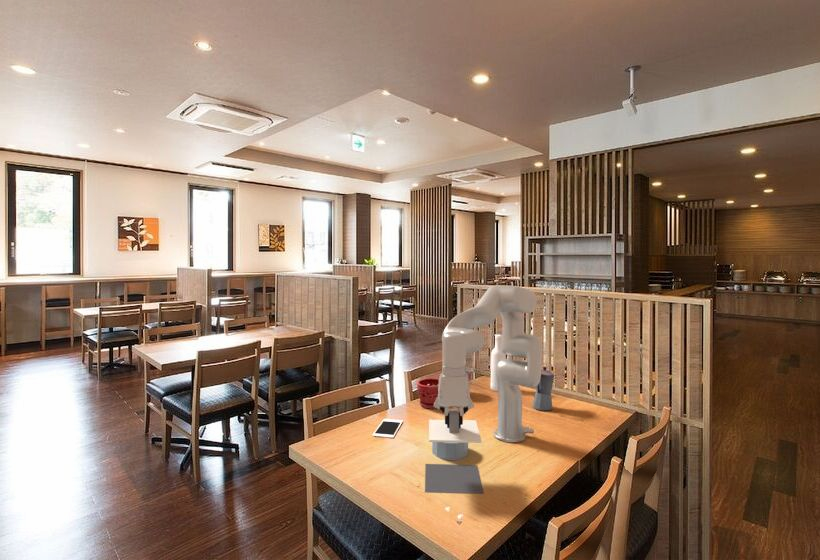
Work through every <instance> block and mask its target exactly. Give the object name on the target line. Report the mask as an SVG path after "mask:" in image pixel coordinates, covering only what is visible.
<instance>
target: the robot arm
mask: <svg viewBox="0 0 820 560" xmlns="http://www.w3.org/2000/svg"><path fill="white" fill-rule="evenodd" d="M537 305H538V299H537V296H536V294H535V293H534V292H533V291H532V290H529V289H526V288H523V287H521V286H517V285H503V284H495V285H492V286H490V287H488V288H487V290H486V291H485V293H483V295H482V296H481V298H480V299H479V300H478V302H477V303H476V305H475V306H474V307H470V308H469V309H467V310H465V311H463V312H460V313H458V314H456V315H455V316H454V317H453V318H452V319H450V321H449V322H448V323H447V325H446V326H445V328H444V329H443V331H442V334H441V341H442V342H441V343H442V345H441V347H442V352H441V353H442V355H441V357H442V362H441V364H442V366H441V368H442V370H441V371H442V372H441V373H440V374H439V378H438V379H439V384H437V385H438V397H437V399H436V401H435V403H434V407H435V408H434V409H437V410H439V411H440V412H441V413H442V414H444V420H445V424H447V428H449V409H450V407H451V408H452V407H453V408H454V407H457V408H459V409H458V412H459V428H461V425H463V420H464V415H465V414H466V413H467V412H468V411H469V410H471V409H474V408H475V403H474V402H473V400H472V398H471V397H470V395H471V391H470V379H468V374H466V373H467V372H470V371H471V367H470V366H469V367H468V366H467V365H466V364H467V361H466V360H467V354H468V353H469V354H473V353H477V352H480V350H481V349H482V348H483V347H484V345H485V337H484V335H483V333H482V332H481V331H479V330H478V329H476V328H481V327H485V326H489V325H492V324H493V323H494V322H495V321H496V319H497V317H498V316H499V315H500V316H501V320H502V329H501V331H502V332H501V335H502V351H503V353H504V354H506V355H507V356H509V357H514V358H522V359H526V361H524V360H518V359H512V358H505V359H503V360H500V361H499V362H498V364H497V367H496V374H497V380H498V391H497V392H498V395H497V399H498V400H497V428H495V430H493V436H494V438H496V439H497V440H500V441H502V442H505V443H506V442H507V443H520V442H523V441H524V440H525V439H526V434H531V435H532V434H534V433H535V432H534V431H535V430H534V428H530V427H529V426H523V423H522V422H523V392H522V390H521V388H520V386H522V387H527V388H536V386H538V384H539V382H540V378H541V370H542V362H543V343H542V340H541V339H540V337H539V336H537V335H535V334H529V333H525V320H524V317H523V315H522V314H531V313H533V312H534V311H535V310H536V308H537ZM474 328H475V329H474Z"/></svg>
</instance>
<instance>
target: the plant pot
mask: <svg viewBox="0 0 820 560" xmlns="http://www.w3.org/2000/svg"><path fill="white" fill-rule="evenodd" d="M438 385H439V378H433V377H428V378H422V379H420V380H418V381H417V383H416V387H417V388H416V389H417V395H418V397H419V404H420V406H421V407H422V408H426V409H433V410H435V409H436V408H435V407H434V403H435V401H436V399H437V397H438Z"/></svg>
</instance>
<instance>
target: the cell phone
mask: <svg viewBox="0 0 820 560" xmlns="http://www.w3.org/2000/svg"><path fill="white" fill-rule="evenodd" d="M403 422H404V420H403V419H402V420H401V419H393V418H384V419H382V421H381V423H380V424H378V426H377V428H376V429H375V431H374V432H373V433H372V437H373V436H376V437H375V438H382V437H386V438H385V439H394V438H395V436H396V435H397V433H398V431H399V430H400V428H401V426H402V425H403ZM401 424H402V425H401ZM398 429H399V430H398Z"/></svg>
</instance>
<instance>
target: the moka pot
mask: <svg viewBox="0 0 820 560" xmlns="http://www.w3.org/2000/svg"><path fill="white" fill-rule="evenodd" d="M542 368H543V369H541V378H540V382H539V384H538V386H536V387H535V395H534V400H533V405H532V406H533V408H534V409H536V410H540V411H548V412H549V411H552V410H553V398H552V397H553V396H552V390H553V385H554V380H555V372H553V371H551V370H547V366H543V367H542Z"/></svg>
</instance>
